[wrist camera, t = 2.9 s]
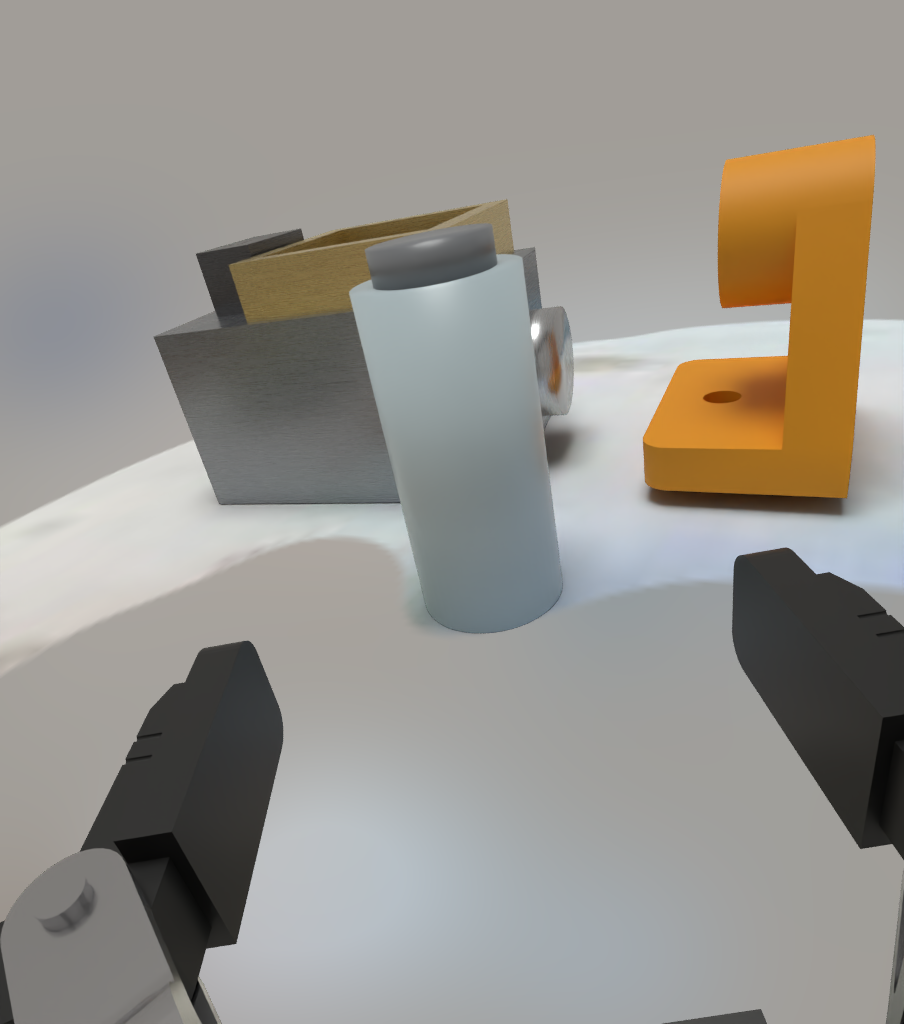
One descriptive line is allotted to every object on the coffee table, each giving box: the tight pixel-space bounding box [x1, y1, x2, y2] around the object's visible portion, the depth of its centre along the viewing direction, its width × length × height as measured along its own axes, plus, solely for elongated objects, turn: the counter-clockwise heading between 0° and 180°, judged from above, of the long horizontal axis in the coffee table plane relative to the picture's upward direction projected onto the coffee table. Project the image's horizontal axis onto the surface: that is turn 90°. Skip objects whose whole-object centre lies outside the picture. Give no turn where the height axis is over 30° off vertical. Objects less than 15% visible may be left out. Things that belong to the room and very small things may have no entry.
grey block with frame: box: [154, 199, 574, 504], centre depth 34 cm, size 18×11×12 cm, turn 72°
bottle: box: [349, 223, 562, 633], centre depth 21 cm, size 5×5×12 cm
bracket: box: [643, 135, 875, 498], centre depth 27 cm, size 11×7×12 cm
